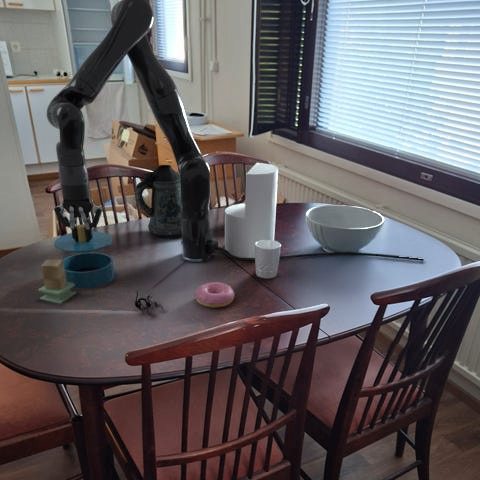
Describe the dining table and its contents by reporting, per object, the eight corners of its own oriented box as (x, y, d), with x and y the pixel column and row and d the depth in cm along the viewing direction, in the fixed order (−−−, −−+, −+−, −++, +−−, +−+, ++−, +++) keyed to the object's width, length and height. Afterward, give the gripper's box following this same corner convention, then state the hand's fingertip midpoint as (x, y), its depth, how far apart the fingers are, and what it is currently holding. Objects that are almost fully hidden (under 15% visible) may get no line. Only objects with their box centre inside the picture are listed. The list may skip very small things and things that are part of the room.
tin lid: (122, 239, 144) (121, 221, 141) (90, 258, 131) (87, 239, 128) (78, 231, 149) (75, 214, 146) (42, 249, 136) (38, 230, 133)
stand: (76, 294, 136) (74, 283, 134) (60, 305, 130) (58, 293, 128) (56, 290, 138) (54, 279, 136) (39, 300, 132) (37, 289, 130)
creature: (163, 307, 132) (134, 302, 131) (166, 290, 130) (136, 285, 128) (161, 321, 126) (130, 316, 124) (164, 303, 123) (133, 298, 122)
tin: (124, 273, 149) (122, 256, 146) (95, 293, 137) (92, 276, 134) (83, 265, 153) (80, 249, 151) (51, 284, 141) (48, 267, 138)
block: (66, 282, 134) (62, 259, 131) (61, 289, 130) (57, 266, 127) (51, 282, 134) (46, 259, 131) (45, 289, 130) (40, 265, 127)
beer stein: (201, 231, 183) (199, 165, 171) (168, 247, 169) (164, 175, 156) (167, 223, 191) (164, 159, 178) (133, 237, 176) (127, 168, 164)
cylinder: (277, 243, 174) (282, 164, 160) (268, 261, 160) (273, 176, 146) (231, 238, 178) (232, 160, 164) (219, 255, 163) (219, 171, 149)
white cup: (281, 271, 153) (283, 241, 148) (275, 281, 146) (277, 250, 141) (258, 267, 155) (259, 238, 150) (250, 277, 148) (251, 246, 143)
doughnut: (239, 307, 131) (239, 294, 129) (199, 312, 128) (199, 298, 126) (228, 290, 140) (228, 277, 138) (191, 294, 137) (191, 281, 135)
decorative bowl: (293, 255, 164) (296, 221, 158) (313, 231, 186) (316, 201, 180) (372, 269, 156) (378, 233, 150) (383, 242, 177) (389, 210, 171)
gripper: (103, 178, 134) (110, 236, 143) (53, 176, 134) (63, 235, 143) (96, 185, 128) (104, 246, 136) (43, 183, 127) (54, 244, 136)
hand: (83, 240), depth 139 cm, fingers closed on tin lid, 3 cm apart
